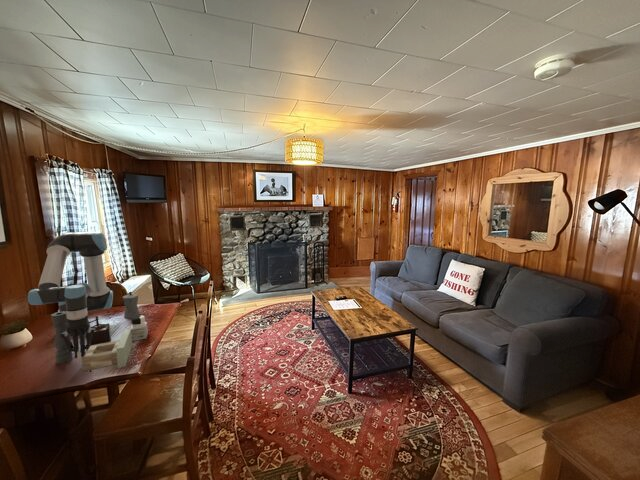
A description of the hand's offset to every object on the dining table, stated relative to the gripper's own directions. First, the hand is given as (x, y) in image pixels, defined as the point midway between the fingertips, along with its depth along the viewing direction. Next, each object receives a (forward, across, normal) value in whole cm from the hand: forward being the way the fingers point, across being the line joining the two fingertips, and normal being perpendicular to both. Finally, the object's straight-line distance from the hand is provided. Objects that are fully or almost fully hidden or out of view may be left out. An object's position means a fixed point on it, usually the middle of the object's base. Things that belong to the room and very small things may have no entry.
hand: (80, 363), depth 131 cm
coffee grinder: (+2, 0, +24) cm, 24 cm away
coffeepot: (+2, +12, +63) cm, 64 cm away
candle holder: (+2, -9, +11) cm, 15 cm away
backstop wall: (+2, +18, +2) cm, 18 cm away
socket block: (+2, +9, +2) cm, 10 cm away
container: (+2, +22, +23) cm, 32 cm away
